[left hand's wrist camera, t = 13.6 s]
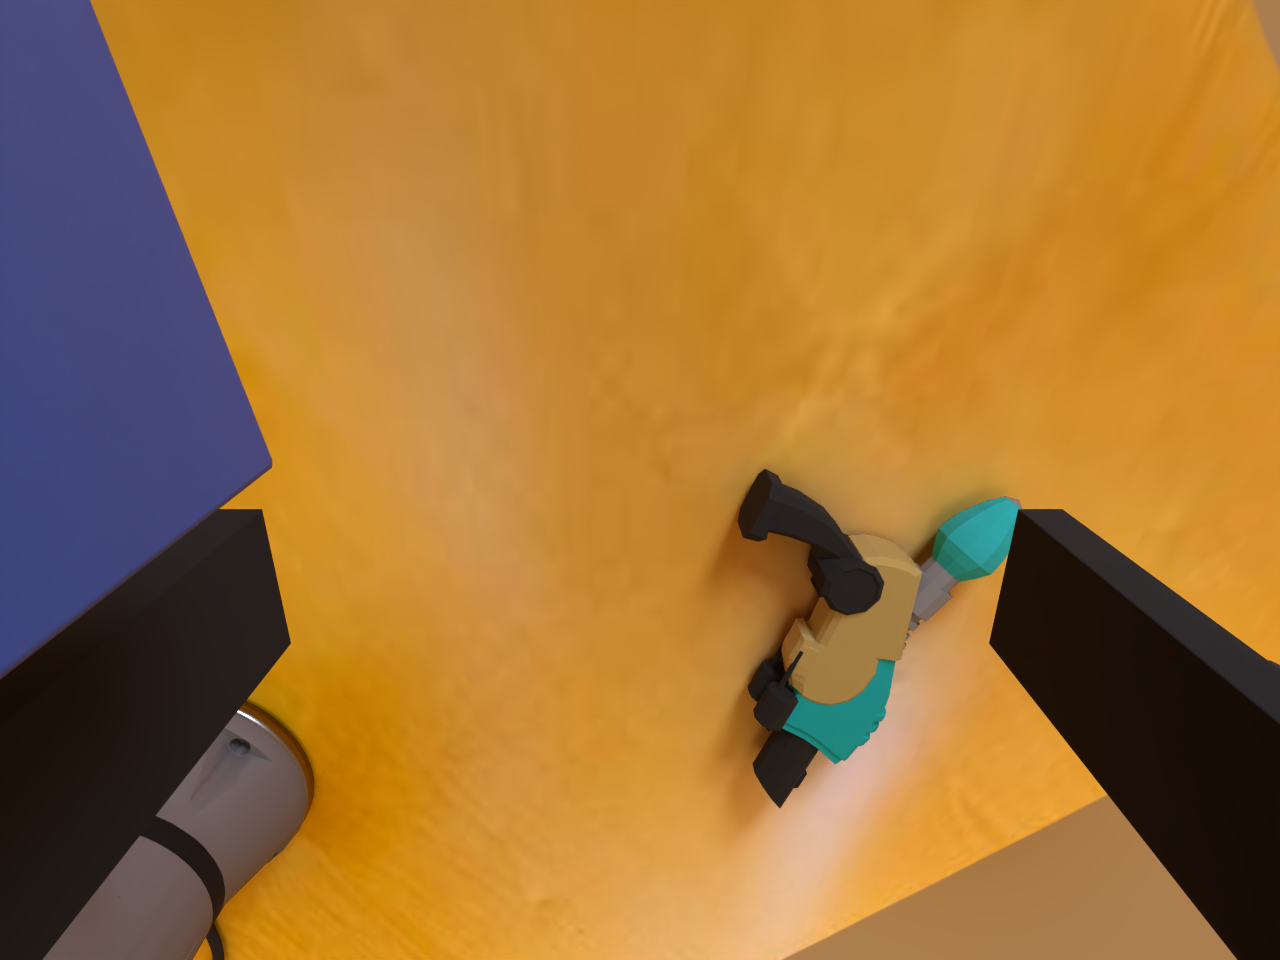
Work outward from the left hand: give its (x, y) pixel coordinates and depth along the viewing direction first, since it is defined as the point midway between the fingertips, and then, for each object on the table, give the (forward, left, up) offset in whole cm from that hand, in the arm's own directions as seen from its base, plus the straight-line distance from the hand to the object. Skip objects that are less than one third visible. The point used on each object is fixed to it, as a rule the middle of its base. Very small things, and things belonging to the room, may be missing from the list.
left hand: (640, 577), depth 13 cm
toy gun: (-19, -11, -29) cm, 36 cm away
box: (+15, +9, +5) cm, 18 cm away
